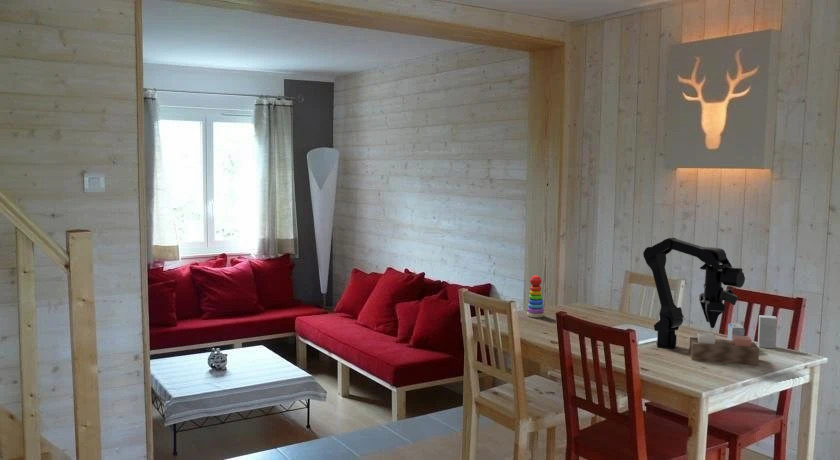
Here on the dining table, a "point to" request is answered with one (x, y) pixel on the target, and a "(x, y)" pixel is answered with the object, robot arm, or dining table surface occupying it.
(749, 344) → the brick-red key
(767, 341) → the skincare box
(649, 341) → the dining table surface
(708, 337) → the ivory key
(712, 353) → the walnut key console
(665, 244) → the robot arm
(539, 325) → the dining table surface
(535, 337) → the dining table surface
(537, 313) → the stacking toy
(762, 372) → the dining table surface
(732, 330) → the medicine box
